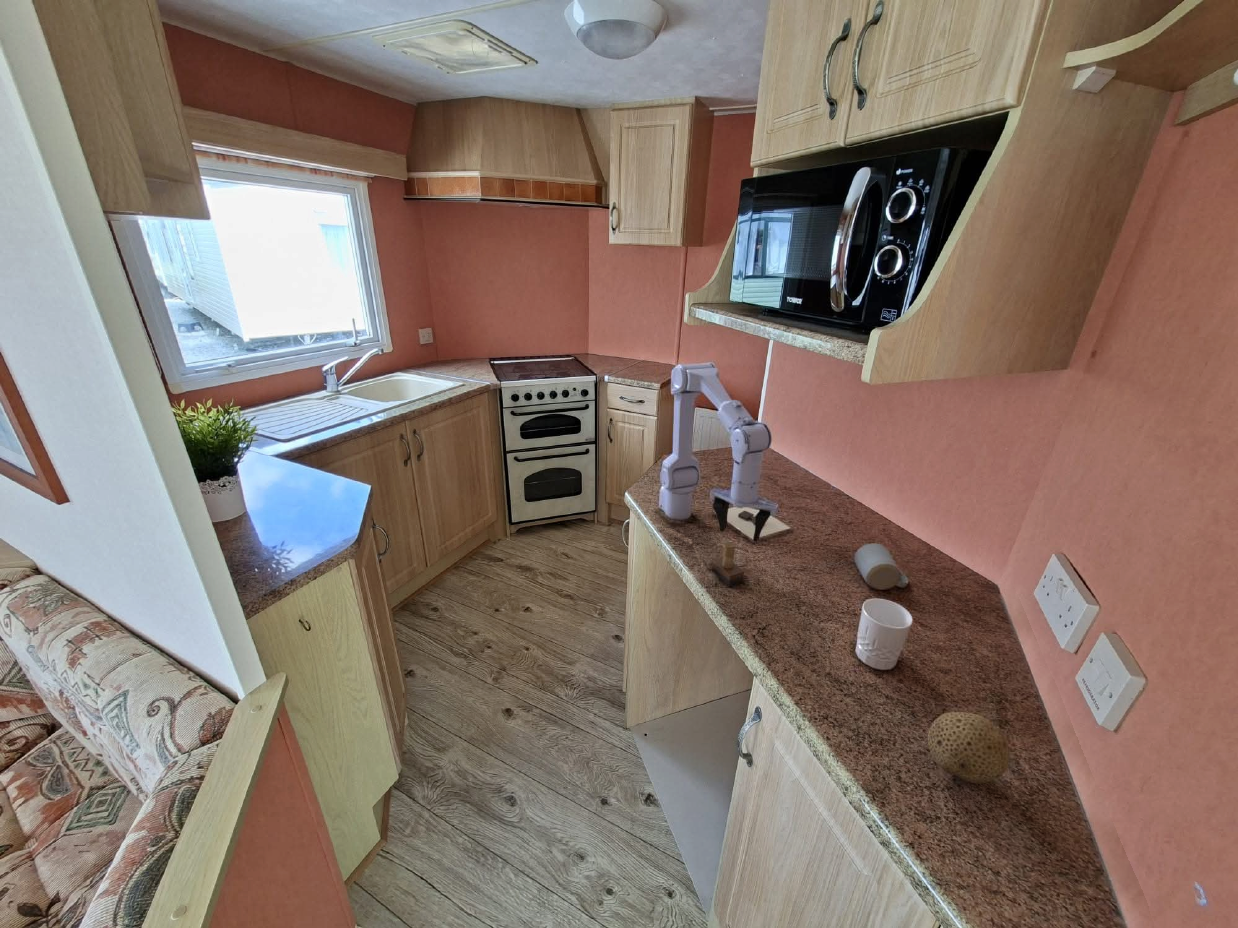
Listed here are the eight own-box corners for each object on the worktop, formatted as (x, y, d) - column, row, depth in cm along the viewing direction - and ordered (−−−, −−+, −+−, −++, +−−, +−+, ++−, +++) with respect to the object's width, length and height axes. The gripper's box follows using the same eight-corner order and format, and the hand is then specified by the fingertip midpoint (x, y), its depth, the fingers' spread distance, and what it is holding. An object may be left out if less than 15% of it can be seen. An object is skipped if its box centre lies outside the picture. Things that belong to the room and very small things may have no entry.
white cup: (842, 646, 92) (852, 603, 88) (874, 636, 95) (885, 594, 91) (876, 678, 85) (889, 633, 81) (909, 665, 88) (923, 621, 84)
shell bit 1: (737, 516, 135) (738, 513, 135) (744, 513, 137) (744, 510, 137) (747, 521, 133) (747, 517, 133) (753, 517, 135) (753, 514, 135)
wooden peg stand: (710, 569, 114) (712, 538, 111) (723, 565, 116) (727, 534, 113) (729, 586, 109) (732, 554, 106) (743, 581, 110) (747, 549, 107)
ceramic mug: (863, 591, 107) (871, 561, 104) (850, 569, 115) (857, 541, 112) (913, 594, 107) (923, 565, 104) (897, 572, 114) (905, 544, 111)
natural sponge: (952, 809, 65) (974, 758, 61) (905, 748, 73) (922, 699, 69) (1011, 797, 66) (1036, 746, 63) (958, 739, 75) (978, 690, 71)
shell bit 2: (750, 519, 134) (750, 516, 133) (760, 519, 134) (761, 516, 134) (754, 525, 131) (754, 522, 131) (764, 524, 131) (765, 521, 131)
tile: (714, 515, 138) (714, 512, 138) (750, 506, 144) (750, 502, 143) (752, 543, 125) (752, 539, 125) (790, 531, 130) (790, 527, 130)
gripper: (706, 477, 104) (702, 533, 110) (775, 494, 97) (766, 552, 103) (718, 466, 110) (713, 519, 115) (784, 481, 103) (775, 537, 108)
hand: (739, 534), depth 109 cm, fingers open, 7 cm apart
